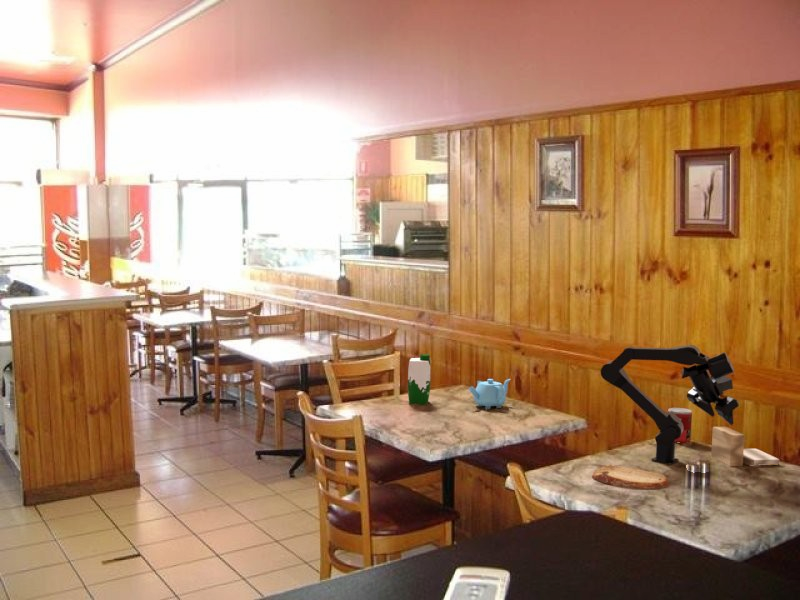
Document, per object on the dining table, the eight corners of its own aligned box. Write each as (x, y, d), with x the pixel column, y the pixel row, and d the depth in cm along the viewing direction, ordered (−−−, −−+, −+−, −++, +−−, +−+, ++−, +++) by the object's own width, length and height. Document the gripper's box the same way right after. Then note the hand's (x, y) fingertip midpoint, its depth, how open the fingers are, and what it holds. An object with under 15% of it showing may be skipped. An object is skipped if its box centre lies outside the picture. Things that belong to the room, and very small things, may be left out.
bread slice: (674, 486, 251) (675, 474, 250) (628, 495, 242) (629, 482, 241) (630, 470, 266) (630, 458, 266) (585, 477, 257) (586, 465, 257)
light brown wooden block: (729, 466, 272) (731, 435, 271) (711, 456, 282) (712, 426, 281) (742, 466, 272) (744, 435, 272) (723, 456, 283) (725, 426, 282)
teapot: (477, 401, 361) (478, 374, 360) (510, 404, 356) (510, 377, 355) (467, 408, 347) (468, 380, 345) (500, 412, 342) (501, 383, 341)
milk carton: (428, 405, 351) (429, 356, 349) (406, 404, 352) (407, 355, 350) (430, 400, 359) (431, 353, 357) (409, 399, 361) (410, 352, 359)
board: (750, 466, 272) (750, 460, 272) (727, 455, 285) (728, 449, 284) (779, 465, 274) (779, 459, 273) (755, 454, 286) (755, 448, 286)
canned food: (691, 444, 298) (693, 413, 297) (667, 442, 299) (669, 411, 298) (688, 438, 305) (690, 408, 304) (665, 437, 307) (667, 406, 306)
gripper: (741, 374, 263) (761, 413, 268) (702, 360, 281) (722, 397, 285) (714, 395, 261) (734, 434, 266) (677, 380, 279) (697, 417, 284)
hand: (722, 420), depth 275 cm, fingers open, 9 cm apart
